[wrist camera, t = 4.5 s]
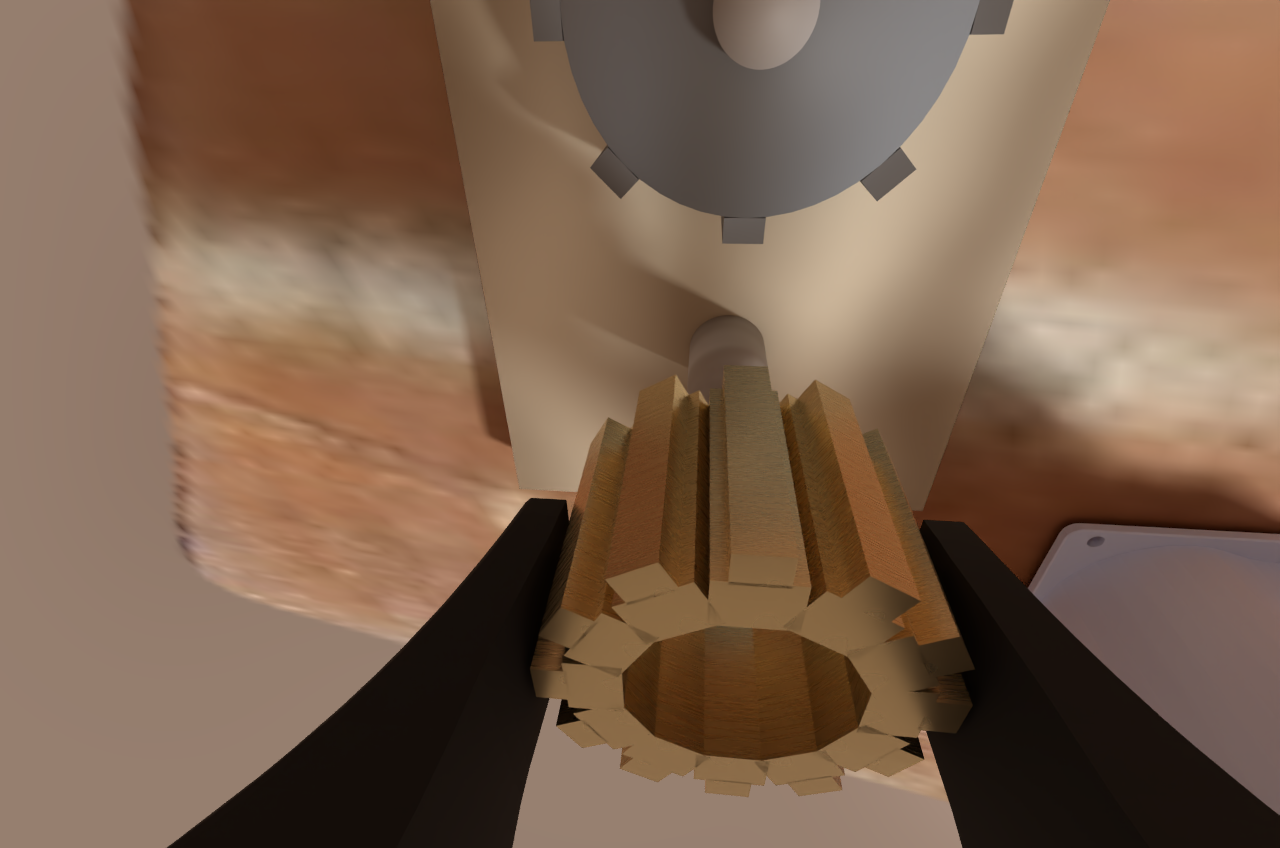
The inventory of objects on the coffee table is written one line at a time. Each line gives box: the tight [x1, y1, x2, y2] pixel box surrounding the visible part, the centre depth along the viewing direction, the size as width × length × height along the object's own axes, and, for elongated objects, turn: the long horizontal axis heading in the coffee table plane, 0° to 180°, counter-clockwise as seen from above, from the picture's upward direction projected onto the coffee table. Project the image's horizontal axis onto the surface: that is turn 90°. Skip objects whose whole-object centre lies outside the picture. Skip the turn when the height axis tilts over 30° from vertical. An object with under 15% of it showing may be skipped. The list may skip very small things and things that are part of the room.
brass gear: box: [530, 365, 975, 797], centre depth 9 cm, size 6×6×4 cm
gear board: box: [430, 0, 1110, 511], centre depth 13 cm, size 13×17×5 cm
